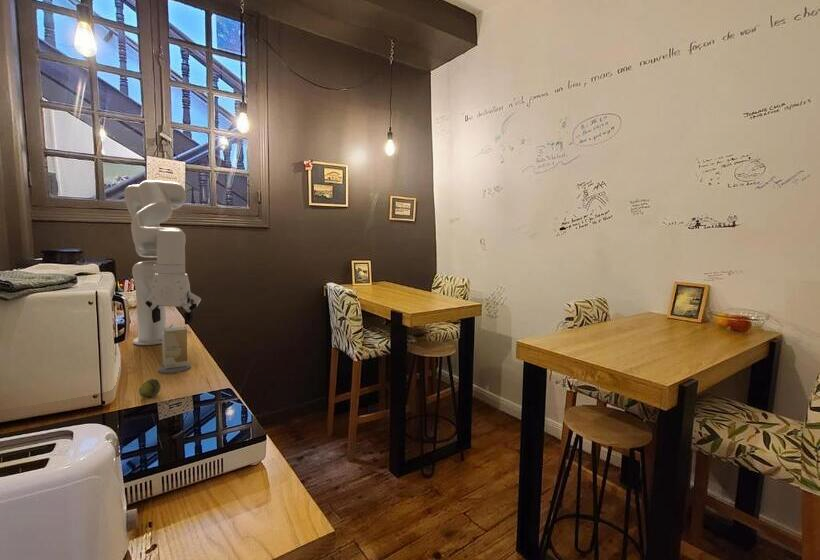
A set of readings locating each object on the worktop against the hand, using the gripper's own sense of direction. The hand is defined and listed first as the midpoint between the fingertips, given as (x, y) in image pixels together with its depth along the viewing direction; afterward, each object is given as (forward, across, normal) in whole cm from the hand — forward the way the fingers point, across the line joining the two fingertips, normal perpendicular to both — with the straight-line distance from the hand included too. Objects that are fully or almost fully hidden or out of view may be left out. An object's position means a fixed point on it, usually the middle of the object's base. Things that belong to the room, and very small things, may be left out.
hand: (172, 322), depth 128 cm
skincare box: (+14, +1, -1) cm, 14 cm away
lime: (+14, +6, -23) cm, 28 cm away
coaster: (+15, +1, -1) cm, 15 cm away
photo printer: (+16, -4, +7) cm, 17 cm away
